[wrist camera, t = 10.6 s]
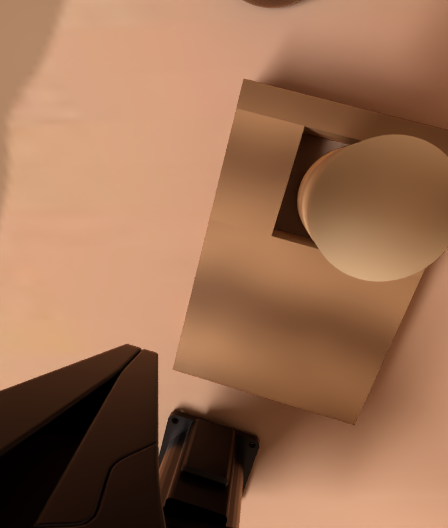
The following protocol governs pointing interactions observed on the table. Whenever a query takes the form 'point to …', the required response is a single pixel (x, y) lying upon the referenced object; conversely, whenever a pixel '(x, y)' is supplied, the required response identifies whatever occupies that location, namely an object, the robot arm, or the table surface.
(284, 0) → the supplement bottle
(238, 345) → the board
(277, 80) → the table surface
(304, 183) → the peg
